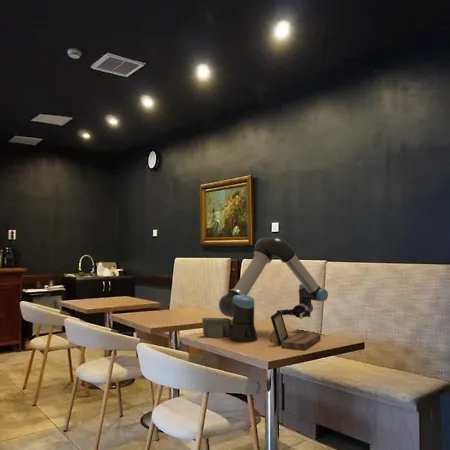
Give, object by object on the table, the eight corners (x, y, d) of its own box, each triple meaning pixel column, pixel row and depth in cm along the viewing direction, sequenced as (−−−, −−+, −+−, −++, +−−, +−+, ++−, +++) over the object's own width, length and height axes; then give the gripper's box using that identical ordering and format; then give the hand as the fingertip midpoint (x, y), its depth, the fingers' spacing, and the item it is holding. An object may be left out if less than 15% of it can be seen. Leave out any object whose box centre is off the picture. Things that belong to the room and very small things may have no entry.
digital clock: (232, 336, 246) (232, 317, 247) (226, 339, 238) (226, 319, 239) (206, 334, 252) (206, 315, 253) (199, 337, 244) (199, 317, 245)
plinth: (281, 347, 217) (281, 341, 217) (299, 338, 241) (299, 332, 242) (304, 350, 211) (304, 344, 211) (320, 340, 236) (320, 334, 236)
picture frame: (281, 345, 221) (277, 315, 223) (264, 346, 224) (260, 317, 225) (288, 337, 243) (285, 310, 245) (272, 338, 246) (269, 311, 247)
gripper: (320, 318, 260) (310, 323, 241) (281, 315, 271) (268, 320, 253) (320, 305, 260) (310, 310, 242) (281, 303, 272) (268, 307, 253)
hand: (288, 315), depth 247 cm, fingers open, 13 cm apart
